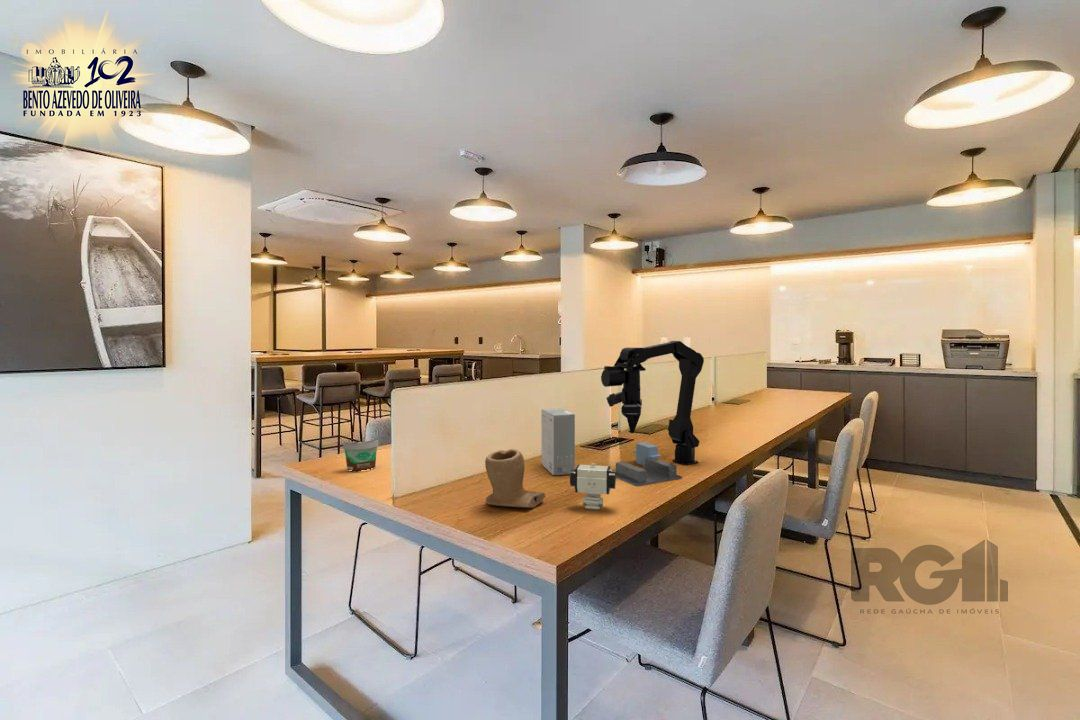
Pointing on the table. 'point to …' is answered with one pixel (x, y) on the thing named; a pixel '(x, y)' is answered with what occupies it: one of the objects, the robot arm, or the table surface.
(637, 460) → the block
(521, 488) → the brown hollow cup shape
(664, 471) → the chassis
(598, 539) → the table surface
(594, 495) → the pneumatic valve
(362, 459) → the food container
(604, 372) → the robot arm
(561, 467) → the hard drive box
